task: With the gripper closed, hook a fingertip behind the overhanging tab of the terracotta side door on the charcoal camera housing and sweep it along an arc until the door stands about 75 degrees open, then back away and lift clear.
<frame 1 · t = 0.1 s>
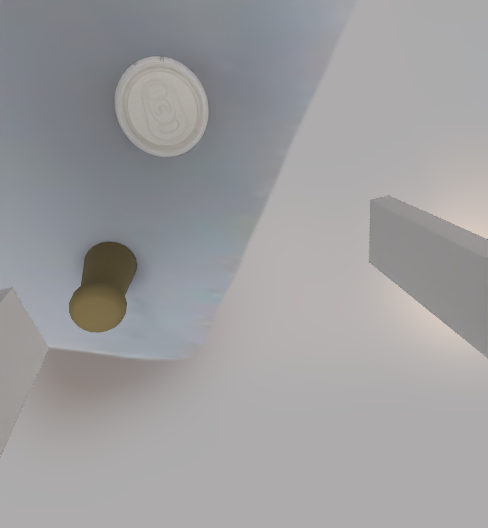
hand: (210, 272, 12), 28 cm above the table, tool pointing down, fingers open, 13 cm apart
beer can: (162, 104, 34), on the table
olive hourglass shape: (111, 263, 41), on the table
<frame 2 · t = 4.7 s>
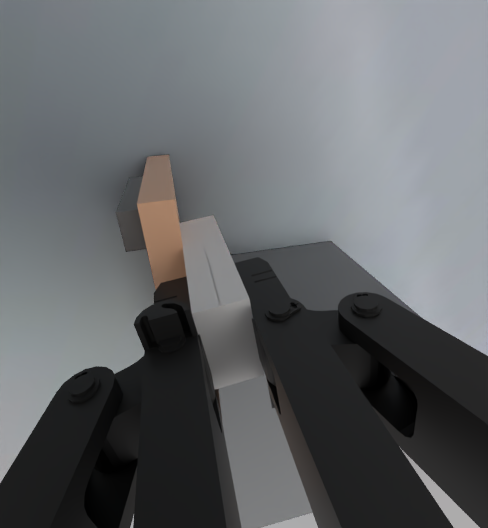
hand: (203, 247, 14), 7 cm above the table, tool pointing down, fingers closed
side door: (182, 358, 20), point 5 cm above the table, hinge at 1.1°, touching gripper
camera housing: (266, 329, 27), on the table
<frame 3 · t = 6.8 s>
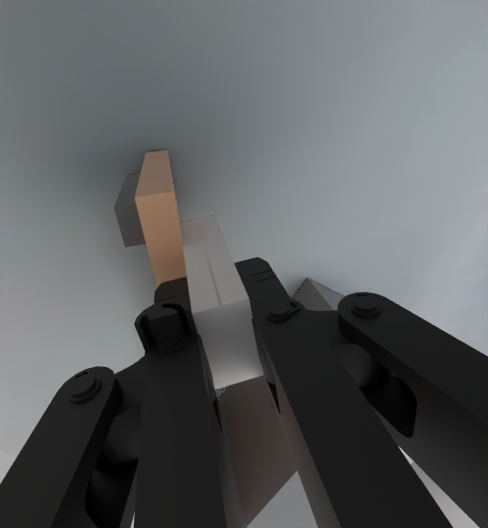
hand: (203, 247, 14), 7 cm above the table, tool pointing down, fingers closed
side door: (185, 354, 20), point 5 cm above the table, hinge at 37.5°, touching gripper
camera housing: (303, 362, 29), on the table
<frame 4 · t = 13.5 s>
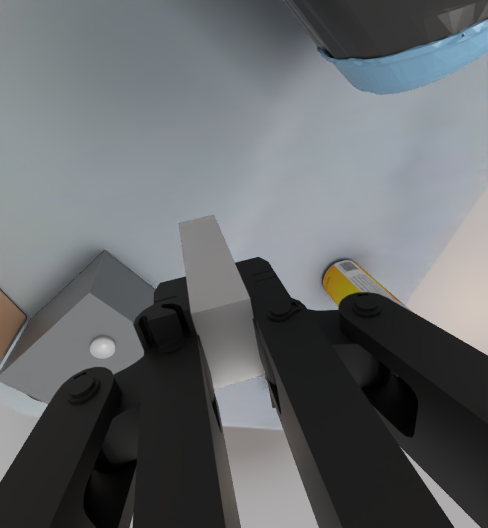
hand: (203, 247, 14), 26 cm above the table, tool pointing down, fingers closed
camera housing: (99, 308, 44), on the table
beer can: (338, 275, 50), on the table
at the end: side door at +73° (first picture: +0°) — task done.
